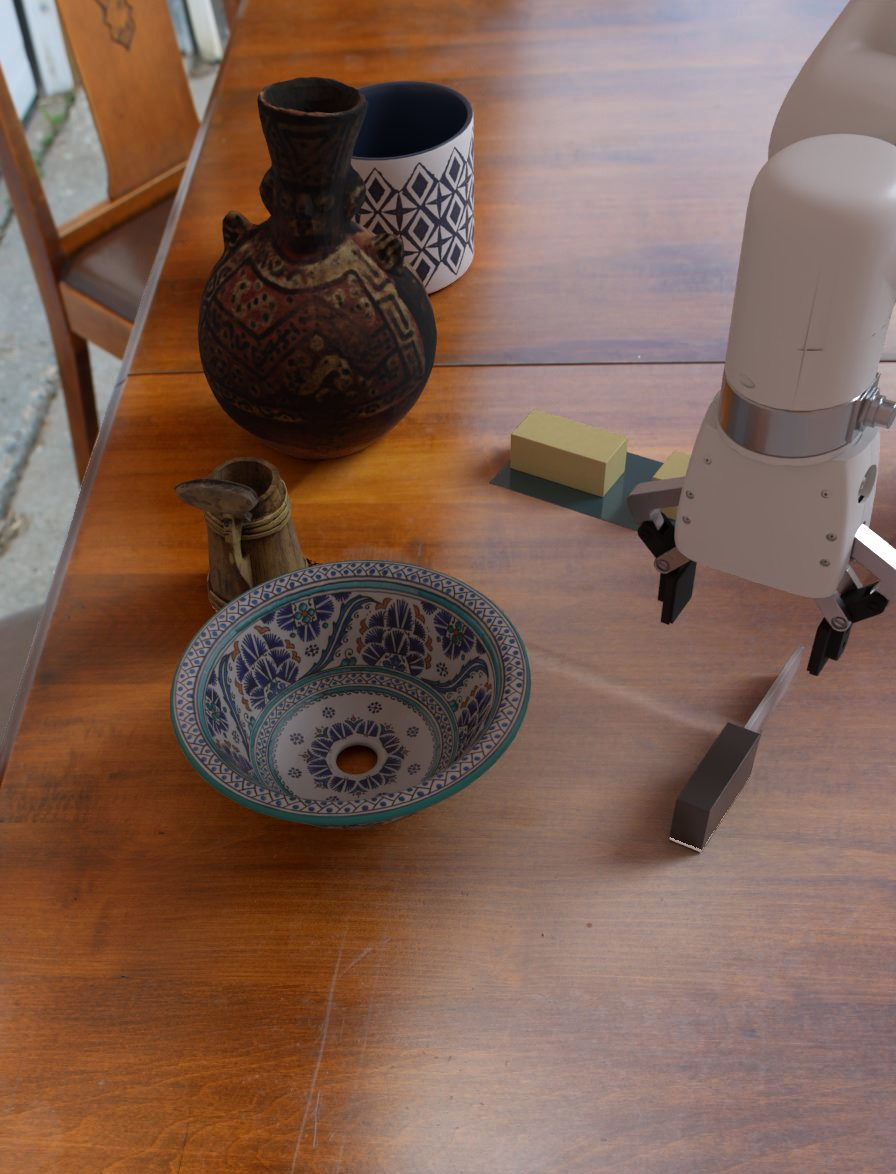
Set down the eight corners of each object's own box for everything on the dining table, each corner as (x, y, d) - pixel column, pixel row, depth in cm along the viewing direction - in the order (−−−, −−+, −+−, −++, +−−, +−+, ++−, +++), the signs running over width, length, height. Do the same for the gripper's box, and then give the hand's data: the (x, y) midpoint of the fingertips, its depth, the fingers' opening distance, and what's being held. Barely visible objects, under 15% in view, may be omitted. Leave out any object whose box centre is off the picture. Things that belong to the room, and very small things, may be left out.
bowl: (189, 674, 107) (166, 583, 100) (498, 633, 106) (499, 537, 98) (197, 927, 92) (171, 843, 85) (556, 882, 91) (562, 792, 84)
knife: (700, 853, 91) (709, 812, 88) (668, 840, 92) (675, 798, 89) (807, 688, 99) (819, 643, 95) (776, 677, 100) (787, 632, 96)
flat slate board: (489, 492, 116) (489, 482, 115) (540, 435, 120) (540, 425, 119) (669, 551, 109) (670, 541, 108) (716, 488, 113) (718, 479, 112)
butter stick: (509, 468, 116) (510, 433, 113) (532, 442, 118) (533, 408, 115) (603, 497, 112) (605, 463, 110) (625, 471, 114) (628, 436, 111)
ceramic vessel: (188, 483, 122) (115, 144, 98) (251, 372, 131) (198, 37, 107) (409, 509, 116) (390, 156, 92) (459, 391, 125) (453, 41, 101)
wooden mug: (185, 663, 108) (138, 479, 93) (221, 553, 116) (183, 366, 101) (292, 669, 106) (261, 482, 92) (321, 556, 114) (297, 367, 99)
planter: (386, 323, 133) (377, 177, 122) (293, 266, 141) (276, 124, 130) (506, 259, 137) (508, 113, 126) (409, 207, 146) (402, 65, 134)
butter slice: (647, 511, 111) (652, 476, 108) (669, 484, 112) (674, 449, 110) (675, 520, 110) (680, 485, 107) (697, 493, 111) (702, 457, 109)
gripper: (987, 399, 68) (906, 642, 82) (673, 323, 75) (648, 557, 89) (932, 486, 65) (858, 722, 79) (610, 397, 72) (594, 628, 86)
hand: (746, 634), depth 84 cm, fingers open, 9 cm apart
